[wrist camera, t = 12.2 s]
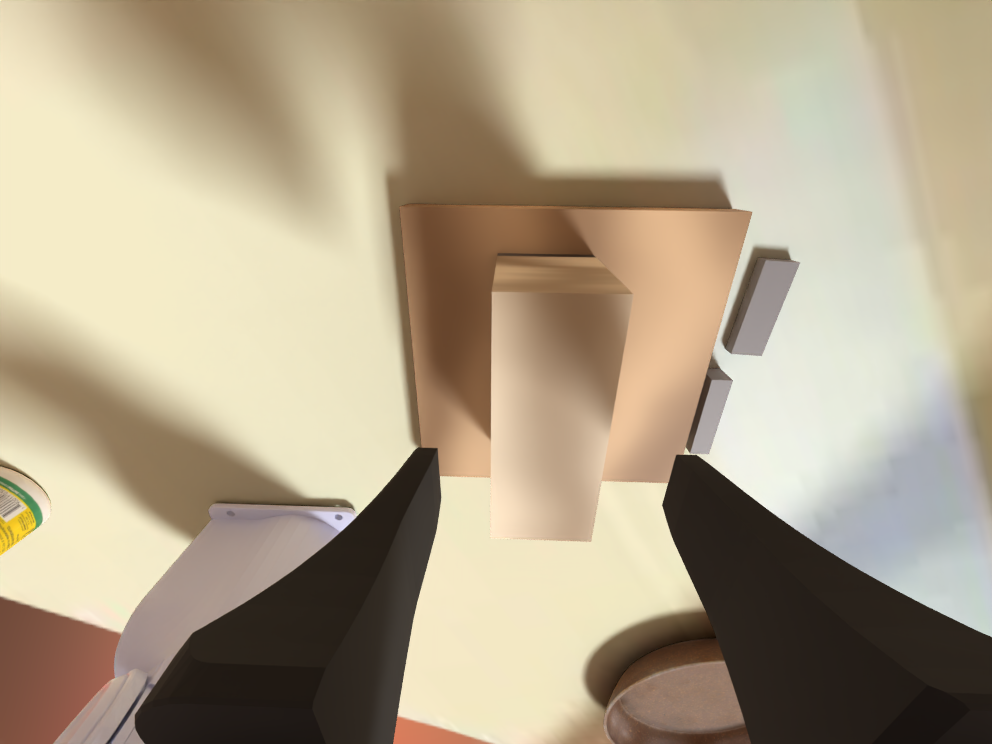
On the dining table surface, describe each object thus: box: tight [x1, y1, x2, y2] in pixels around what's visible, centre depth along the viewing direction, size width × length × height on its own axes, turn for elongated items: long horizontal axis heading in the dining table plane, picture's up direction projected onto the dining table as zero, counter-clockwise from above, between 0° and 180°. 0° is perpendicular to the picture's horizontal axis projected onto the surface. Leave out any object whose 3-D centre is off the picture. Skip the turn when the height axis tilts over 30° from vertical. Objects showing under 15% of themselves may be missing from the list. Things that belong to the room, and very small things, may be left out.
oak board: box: [399, 204, 752, 483], centre depth 19 cm, size 14×14×2 cm
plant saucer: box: [604, 639, 751, 744], centre depth 33 cm, size 18×18×3 cm
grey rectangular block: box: [725, 258, 800, 356], centre depth 19 cm, size 2×4×1 cm, turn 176°
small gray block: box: [686, 368, 733, 454], centre depth 21 cm, size 2×4×1 cm
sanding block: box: [490, 253, 634, 542], centre depth 16 cm, size 4×10×6 cm, turn 179°
